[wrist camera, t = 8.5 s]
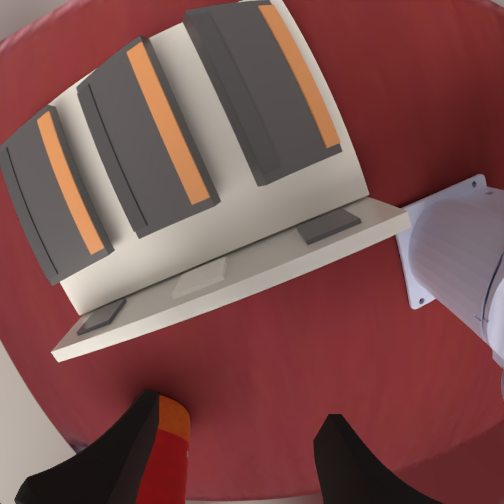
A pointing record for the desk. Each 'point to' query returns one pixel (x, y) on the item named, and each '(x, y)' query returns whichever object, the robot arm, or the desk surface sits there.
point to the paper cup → (167, 457)
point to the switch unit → (214, 216)
